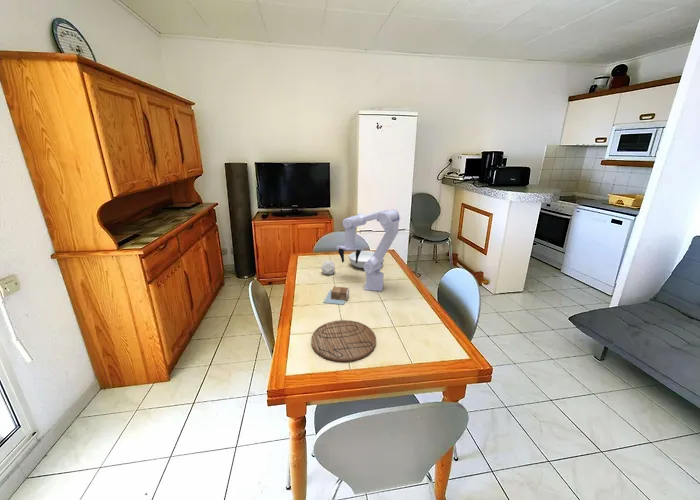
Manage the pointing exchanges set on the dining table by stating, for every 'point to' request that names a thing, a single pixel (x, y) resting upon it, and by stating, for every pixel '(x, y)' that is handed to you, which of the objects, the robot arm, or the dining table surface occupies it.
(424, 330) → the dining table surface
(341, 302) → the mat
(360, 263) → the serving bowl
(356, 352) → the trivet
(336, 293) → the block
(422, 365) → the dining table surface
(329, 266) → the die
